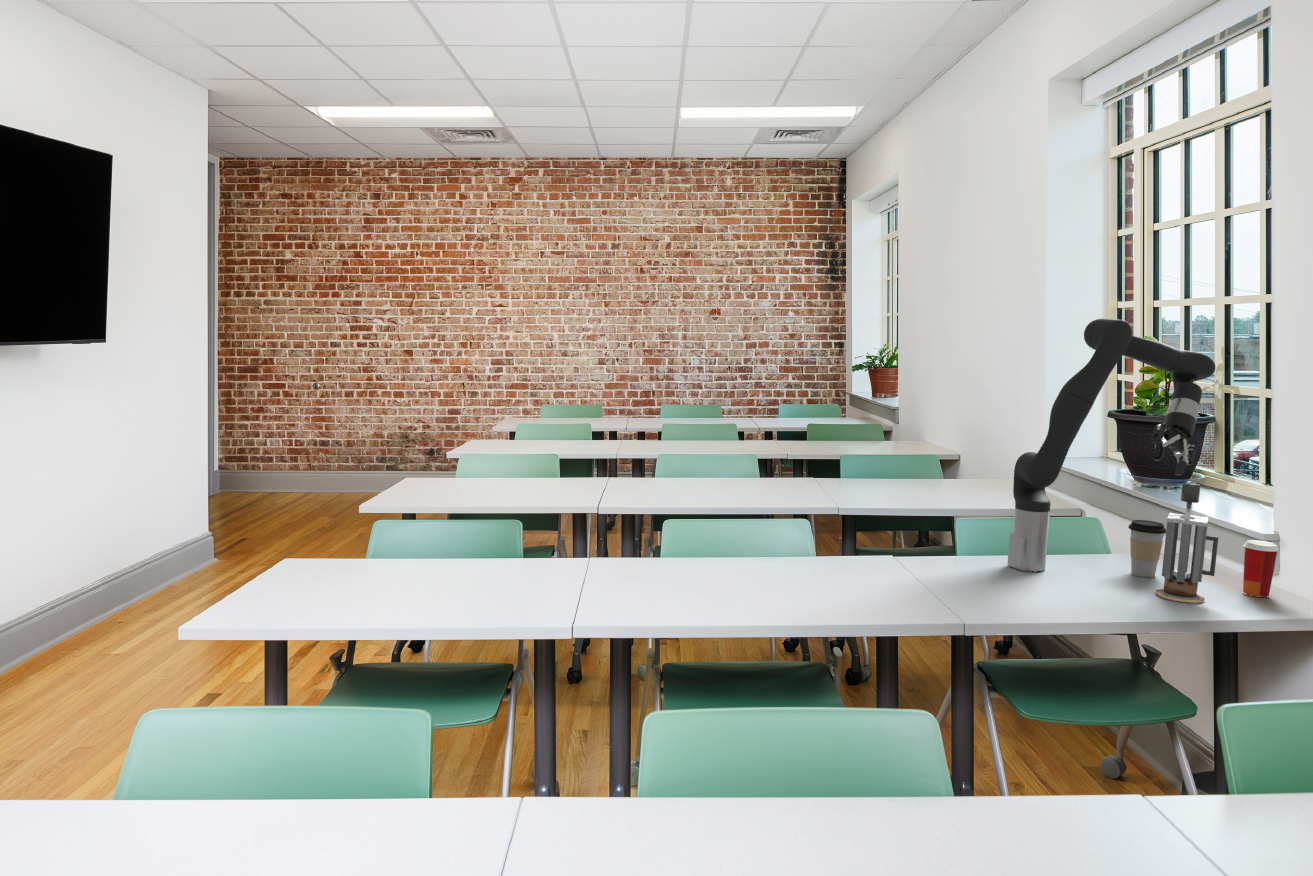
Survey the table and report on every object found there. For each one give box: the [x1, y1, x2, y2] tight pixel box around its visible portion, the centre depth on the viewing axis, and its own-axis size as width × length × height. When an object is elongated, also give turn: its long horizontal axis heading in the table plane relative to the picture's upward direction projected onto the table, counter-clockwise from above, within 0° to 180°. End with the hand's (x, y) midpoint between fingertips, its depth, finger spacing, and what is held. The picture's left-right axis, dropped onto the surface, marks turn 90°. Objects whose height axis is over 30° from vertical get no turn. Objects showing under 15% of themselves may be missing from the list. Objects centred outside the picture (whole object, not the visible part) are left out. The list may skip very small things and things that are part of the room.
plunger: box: [1172, 482, 1201, 579], centre depth 225 cm, size 6×6×24 cm
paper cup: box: [1242, 539, 1280, 598], centre depth 230 cm, size 8×8×14 cm
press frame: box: [1154, 512, 1219, 605], centre depth 225 cm, size 12×11×21 cm
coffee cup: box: [1128, 519, 1167, 578], centre depth 247 cm, size 9×9×15 cm
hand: (1168, 467), depth 243 cm, fingers open, 8 cm apart
